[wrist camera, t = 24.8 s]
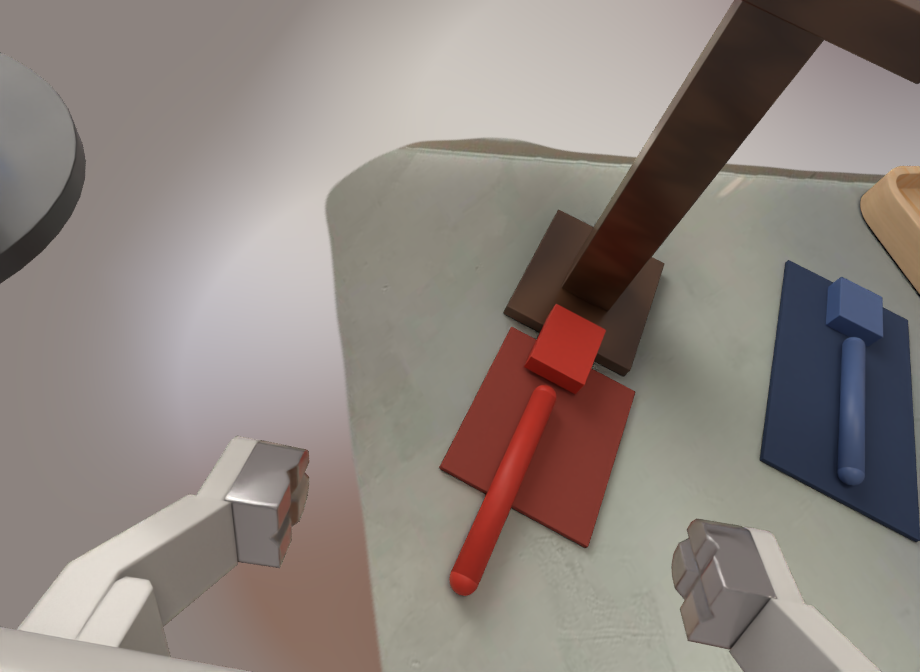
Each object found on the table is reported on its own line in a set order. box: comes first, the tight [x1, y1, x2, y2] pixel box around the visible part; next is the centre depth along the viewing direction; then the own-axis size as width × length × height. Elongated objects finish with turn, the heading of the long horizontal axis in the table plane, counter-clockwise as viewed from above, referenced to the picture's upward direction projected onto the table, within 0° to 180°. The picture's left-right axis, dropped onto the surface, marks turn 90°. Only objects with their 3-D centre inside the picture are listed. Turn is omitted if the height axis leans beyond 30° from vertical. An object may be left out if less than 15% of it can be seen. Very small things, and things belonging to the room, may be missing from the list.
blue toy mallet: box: [826, 277, 883, 486], centre depth 45 cm, size 20×4×2 cm, turn 155°
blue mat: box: [760, 260, 920, 542], centre depth 46 cm, size 12×22×1 cm, turn 155°
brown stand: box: [504, 0, 920, 376], centre depth 34 cm, size 10×12×26 cm
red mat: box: [439, 327, 635, 548], centre depth 37 cm, size 10×12×1 cm
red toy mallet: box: [450, 304, 606, 596], centre depth 35 cm, size 20×4×2 cm, turn 154°
